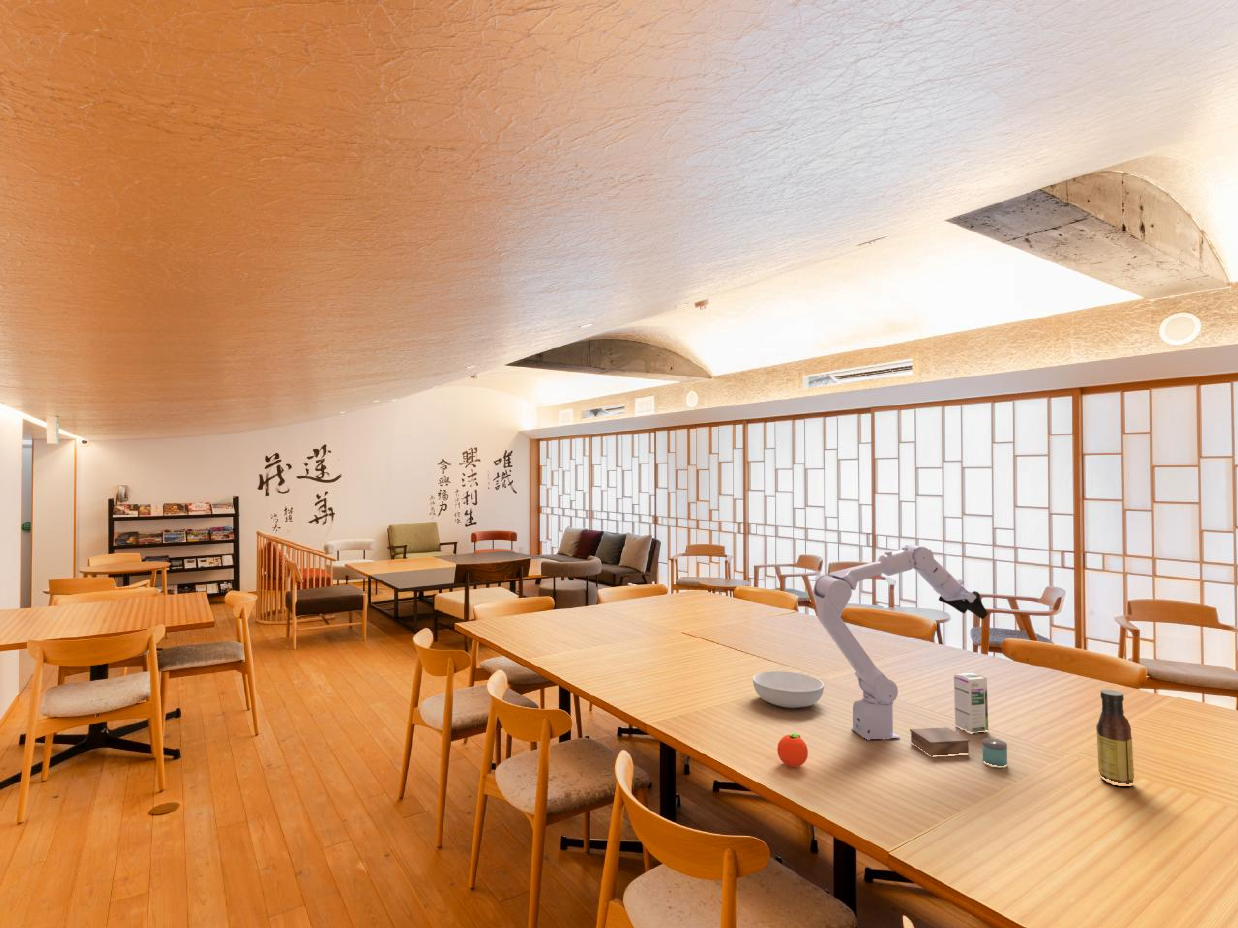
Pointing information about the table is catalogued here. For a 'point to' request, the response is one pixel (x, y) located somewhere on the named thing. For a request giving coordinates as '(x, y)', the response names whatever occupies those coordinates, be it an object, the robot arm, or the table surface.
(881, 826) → the table surface
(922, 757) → the table surface
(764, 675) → the serving bowl
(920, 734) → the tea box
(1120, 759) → the sauce bottle
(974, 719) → the syrup box
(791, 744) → the tomato
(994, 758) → the cylinder
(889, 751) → the table surface
